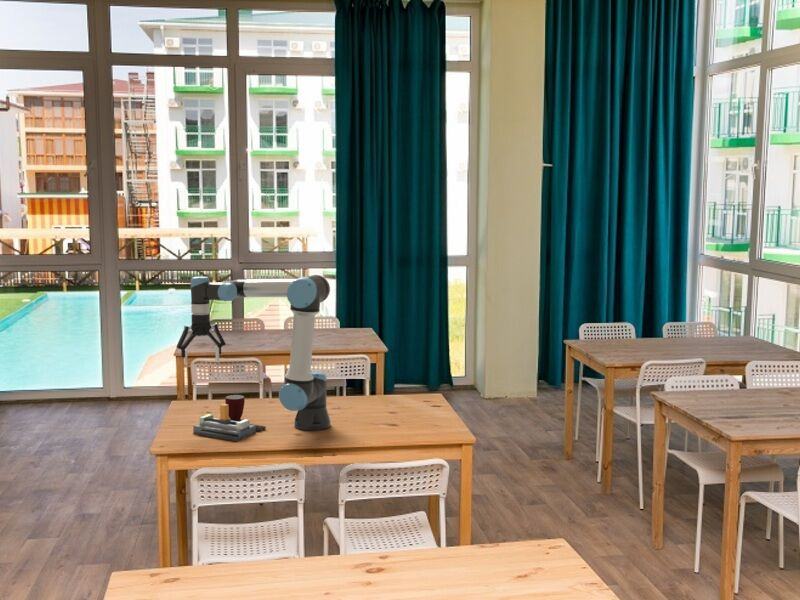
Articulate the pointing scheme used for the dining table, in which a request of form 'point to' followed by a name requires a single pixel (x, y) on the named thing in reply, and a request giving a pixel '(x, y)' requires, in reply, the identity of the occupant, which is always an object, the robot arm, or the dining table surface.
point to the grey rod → (258, 428)
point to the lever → (224, 414)
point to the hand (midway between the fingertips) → (201, 363)
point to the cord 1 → (218, 435)
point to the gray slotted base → (225, 427)
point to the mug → (235, 406)
